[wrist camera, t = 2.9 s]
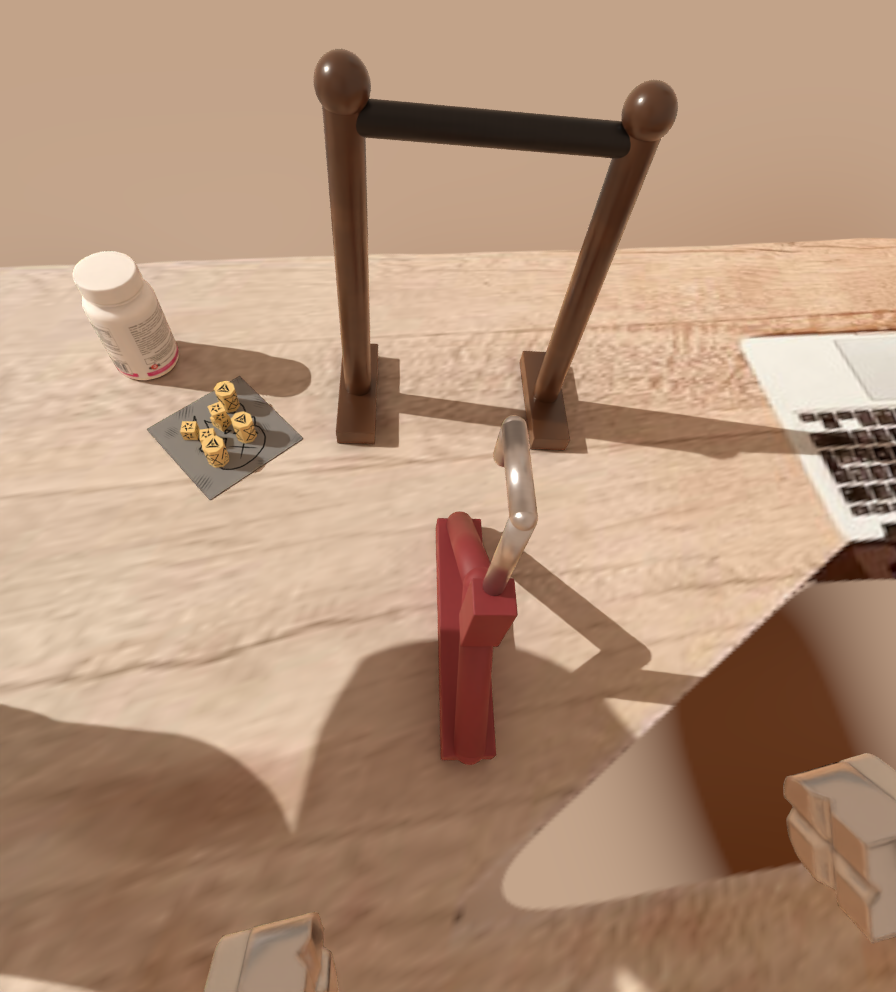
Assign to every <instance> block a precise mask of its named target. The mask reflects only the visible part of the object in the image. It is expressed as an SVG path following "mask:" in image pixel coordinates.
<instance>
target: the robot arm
mask: <svg viewBox="0 0 896 992" xmlns="http://www.w3.org/2000/svg"><path fill="white" fill-rule="evenodd" d="M783 785H784V797H785V798H786V799H787V800H788V801H789V802H790V803H791V804H792V806H793V807H792V809H791V811H790V813H789V815H788V817H787V819H786V821H787V829H788V836H789V839H790V841H791V843H792V845H793V848H794V850H795V853H796V855H797V856H798V858H799V859H800V861H801V862H802V864H803V865H804V867H805V868H806V869H807V871H808V872H809V873H810V874H811V875H812V876H813V877H814V879H815V880H816V881H818V882H820V883H822V884H824V885H826V886H829V887H831V888H833V889H835V890H836V896H837V904H838V906H839V907H840V908H841V909H842V910H843V911H844V913H845V914H846V915H847V916H848V917H849V918H850V919H851V920H852V921H853V923H854V924H855V925H856V926H857V927H858V928H859V929H860V930H861V931H862V933H863V934H864V935H865V936H866V937H867V938H868V939H869V940H870V942H871V943H875V942H879V941H883V940H886V939H890V938H894V937H896V770H894V769H893V768H892V767H890V766H889V765H888V764H886V763H885V762H883V761H882V760H881V759H879V758H878V757H877V756H874V755H871V754H869V753H865V754H862V755H859V756H855V757H852V758H849V759H845V760H842V761H840V762H836V763H832V764H829V765H825V766H822V767H819V768H815V769H812V770H808V771H805V772H802V773H798V774H795V775H792V776H788V777H786V779H785V782H784V784H783ZM323 936H324V928H323V925H322V922H321V919H320V916H319V913H317V912H311V913H307V914H304V915H300V916H296V917H292V918H288V919H284V920H280V921H276V922H272V923H268V924H264V925H260V926H256V927H254V928H252V929H248V930H244V931H240V932H236V933H232V934H228V935H224V936H222V938H221V939H220V941H219V942H218V944H217V946H216V948H215V952H214V955H213V959H212V962H211V966H210V970H209V973H208V977H207V981H206V984H205V988H204V991H203V992H338V980H337V974H336V969H335V963H334V960H333V957H332V953H331V951H330V950H328V949H326V948H325V947H323Z"/></svg>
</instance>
